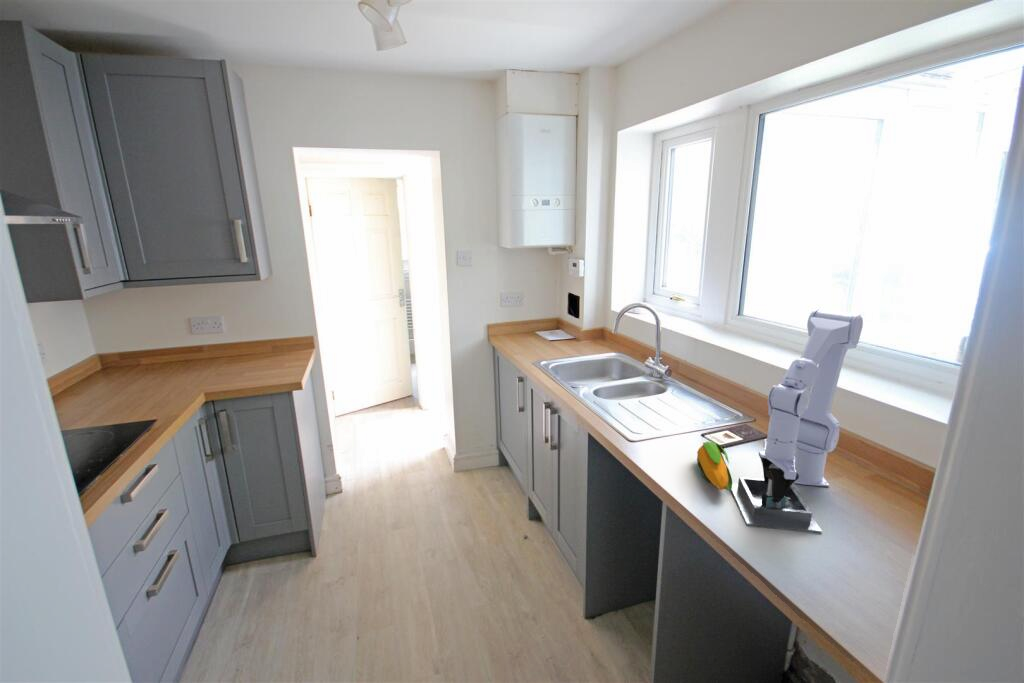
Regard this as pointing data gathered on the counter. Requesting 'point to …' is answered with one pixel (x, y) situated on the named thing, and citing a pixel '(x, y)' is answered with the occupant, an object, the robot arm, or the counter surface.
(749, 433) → the chocolate bar
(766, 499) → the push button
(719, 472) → the corn
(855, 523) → the counter surface
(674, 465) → the counter surface
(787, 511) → the grey metal tray
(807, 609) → the counter surface
